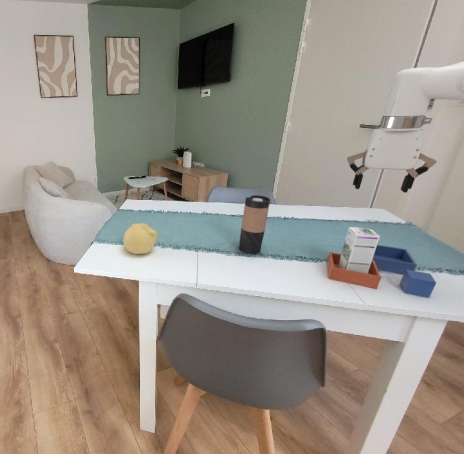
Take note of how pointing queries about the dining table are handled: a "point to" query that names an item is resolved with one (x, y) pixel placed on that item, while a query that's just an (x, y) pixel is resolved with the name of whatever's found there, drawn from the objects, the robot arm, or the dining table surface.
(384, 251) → the blue bin
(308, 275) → the dining table surface
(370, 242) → the syrup box
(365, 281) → the terracotta bin
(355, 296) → the dining table surface
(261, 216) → the travel mug
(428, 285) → the blue block
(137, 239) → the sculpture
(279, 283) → the dining table surface
